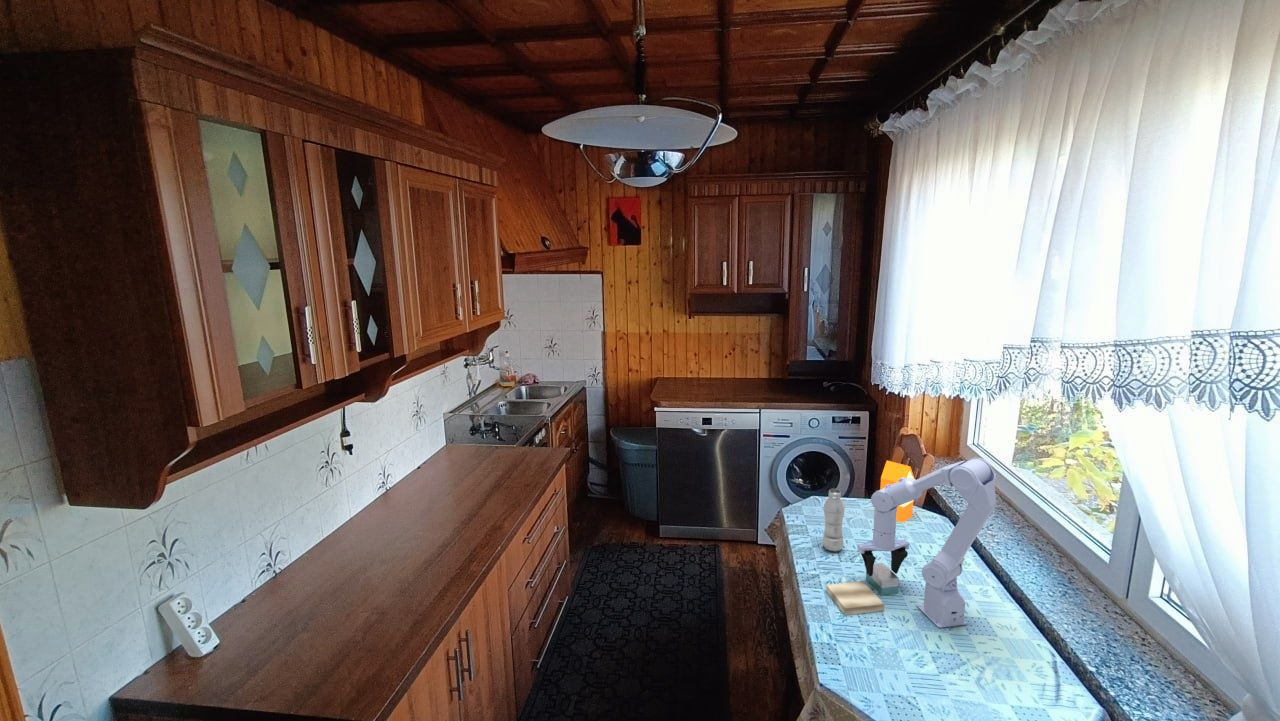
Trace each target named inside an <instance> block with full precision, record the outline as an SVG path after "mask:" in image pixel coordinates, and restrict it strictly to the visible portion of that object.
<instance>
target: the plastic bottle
mask: <svg viewBox="0 0 1280 721" xmlns="http://www.w3.org/2000/svg"><path fill="white" fill-rule="evenodd" d="M841 494H842V493H841V490H840V489H837V488H830V489H829V490H828V498H827V499H826V500H825V501H824V504H823V511H824V532H823V535H822V546H823V547H824V549H825V550H827V551H829V552H833V553H836V552H839V551H841V550H842V549H843V547H844V537H843V519H844V515H845V514H844V513H845V508H846V507H845V504H844V502H843V500H842V499H841V498H842V495H841Z"/></svg>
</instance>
